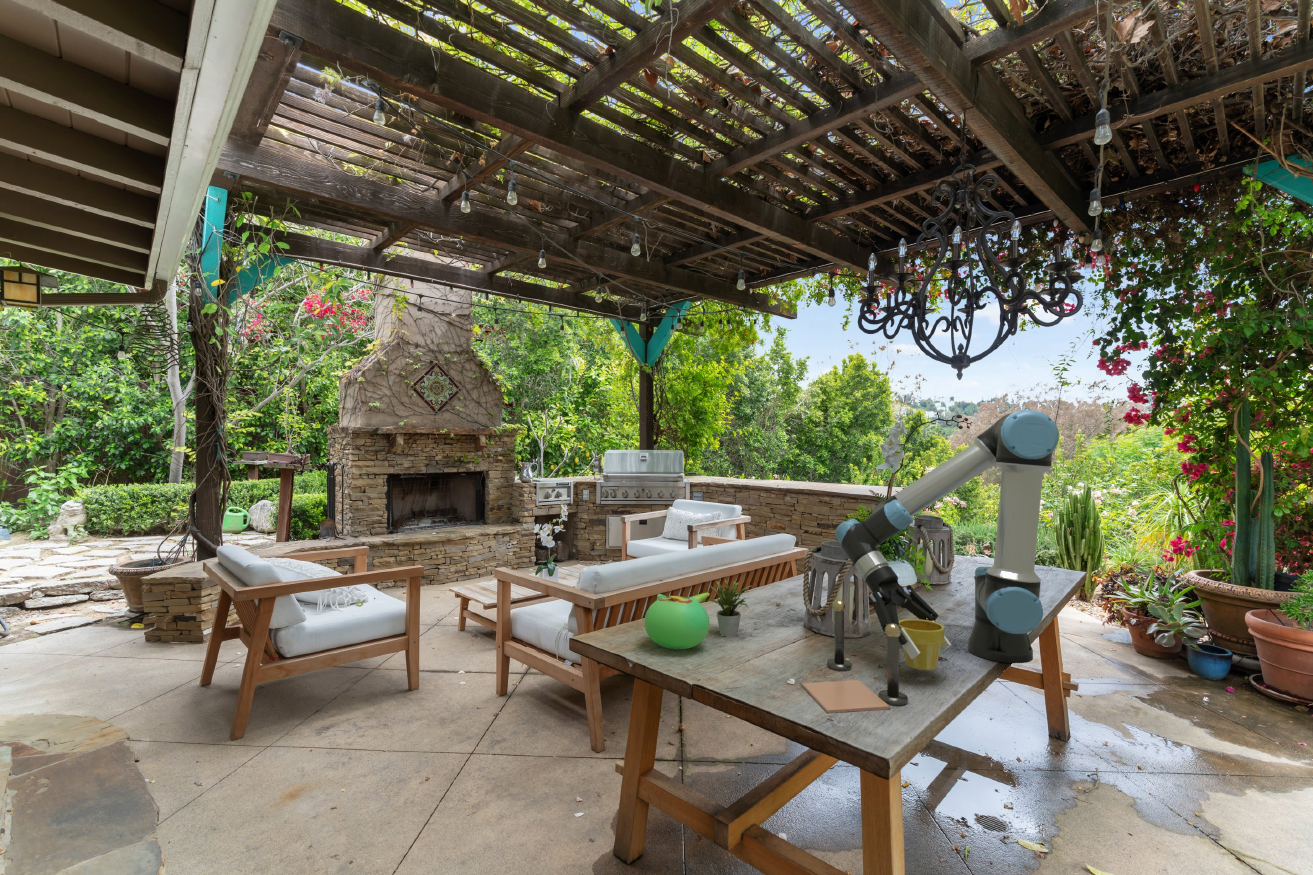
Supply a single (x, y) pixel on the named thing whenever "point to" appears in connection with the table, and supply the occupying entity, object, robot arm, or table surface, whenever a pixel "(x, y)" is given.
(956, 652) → the table surface
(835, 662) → the iron post
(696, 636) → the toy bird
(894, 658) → the iron post
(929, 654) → the plant pot
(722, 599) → the house plant
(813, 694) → the terracotta tile
